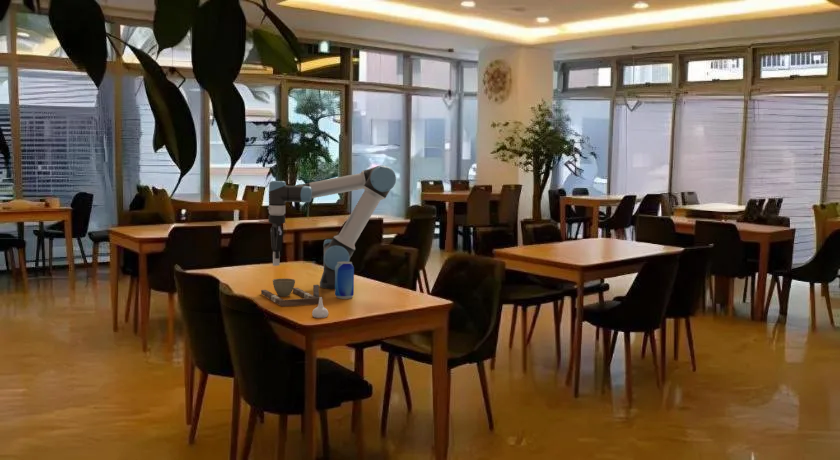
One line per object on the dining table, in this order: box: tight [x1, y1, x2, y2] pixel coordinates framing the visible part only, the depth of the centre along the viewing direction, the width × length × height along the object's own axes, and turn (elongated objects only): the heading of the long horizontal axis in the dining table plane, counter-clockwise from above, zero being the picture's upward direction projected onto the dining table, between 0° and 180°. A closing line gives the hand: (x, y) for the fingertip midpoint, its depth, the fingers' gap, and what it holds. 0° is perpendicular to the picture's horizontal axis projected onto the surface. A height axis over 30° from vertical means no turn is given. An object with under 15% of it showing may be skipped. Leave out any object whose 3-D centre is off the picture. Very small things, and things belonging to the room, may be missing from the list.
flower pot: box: [272, 278, 296, 297], centre depth 354 cm, size 10×10×7 cm
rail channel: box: [260, 284, 320, 307], centre depth 347 cm, size 32×21×6 cm, turn 27°
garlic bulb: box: [311, 296, 329, 319], centre depth 310 cm, size 6×6×8 cm
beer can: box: [334, 261, 355, 300], centre depth 352 cm, size 8×8×16 cm
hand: (276, 265), depth 363 cm, fingers closed
